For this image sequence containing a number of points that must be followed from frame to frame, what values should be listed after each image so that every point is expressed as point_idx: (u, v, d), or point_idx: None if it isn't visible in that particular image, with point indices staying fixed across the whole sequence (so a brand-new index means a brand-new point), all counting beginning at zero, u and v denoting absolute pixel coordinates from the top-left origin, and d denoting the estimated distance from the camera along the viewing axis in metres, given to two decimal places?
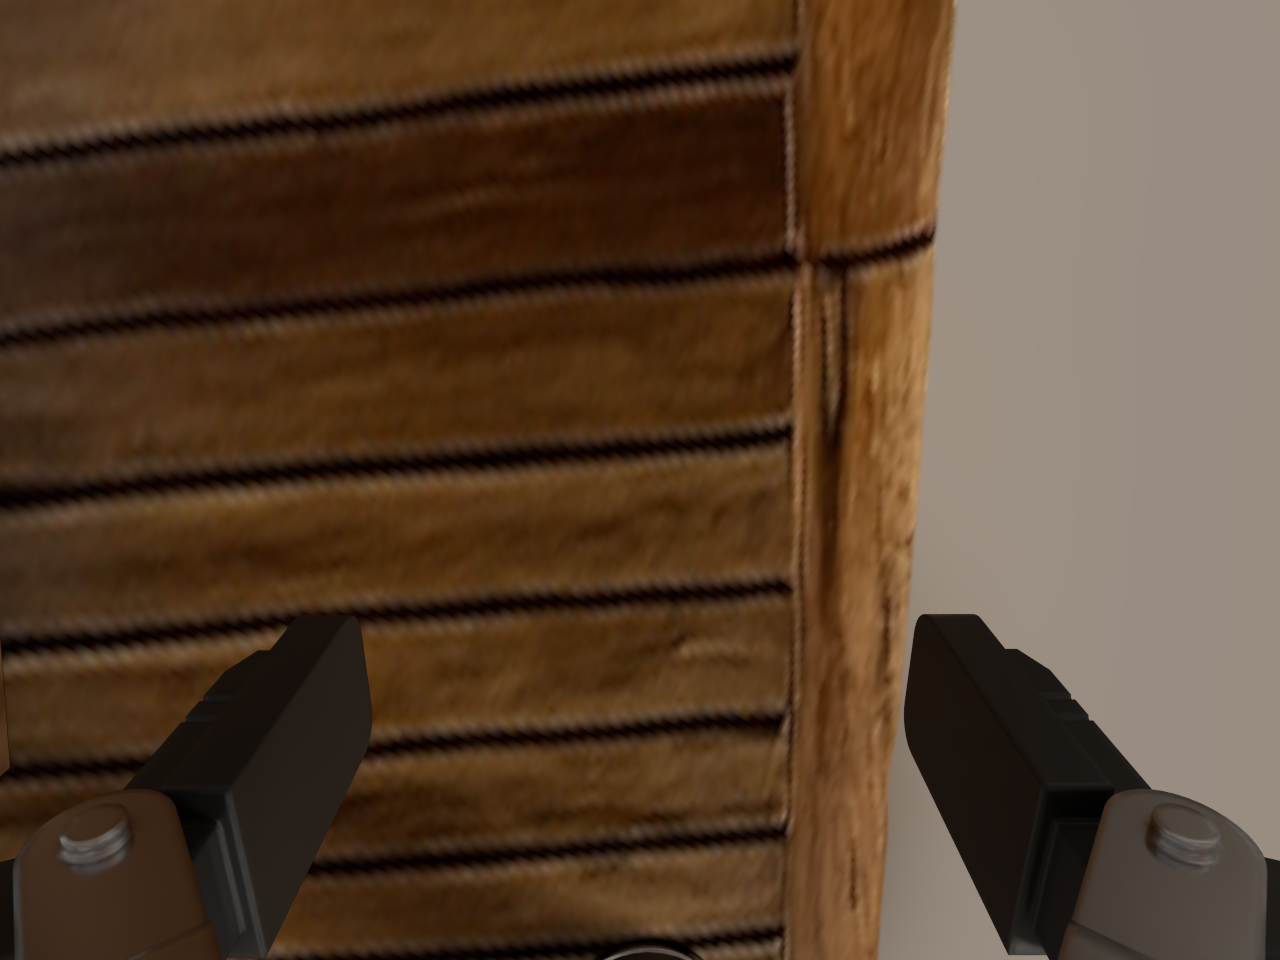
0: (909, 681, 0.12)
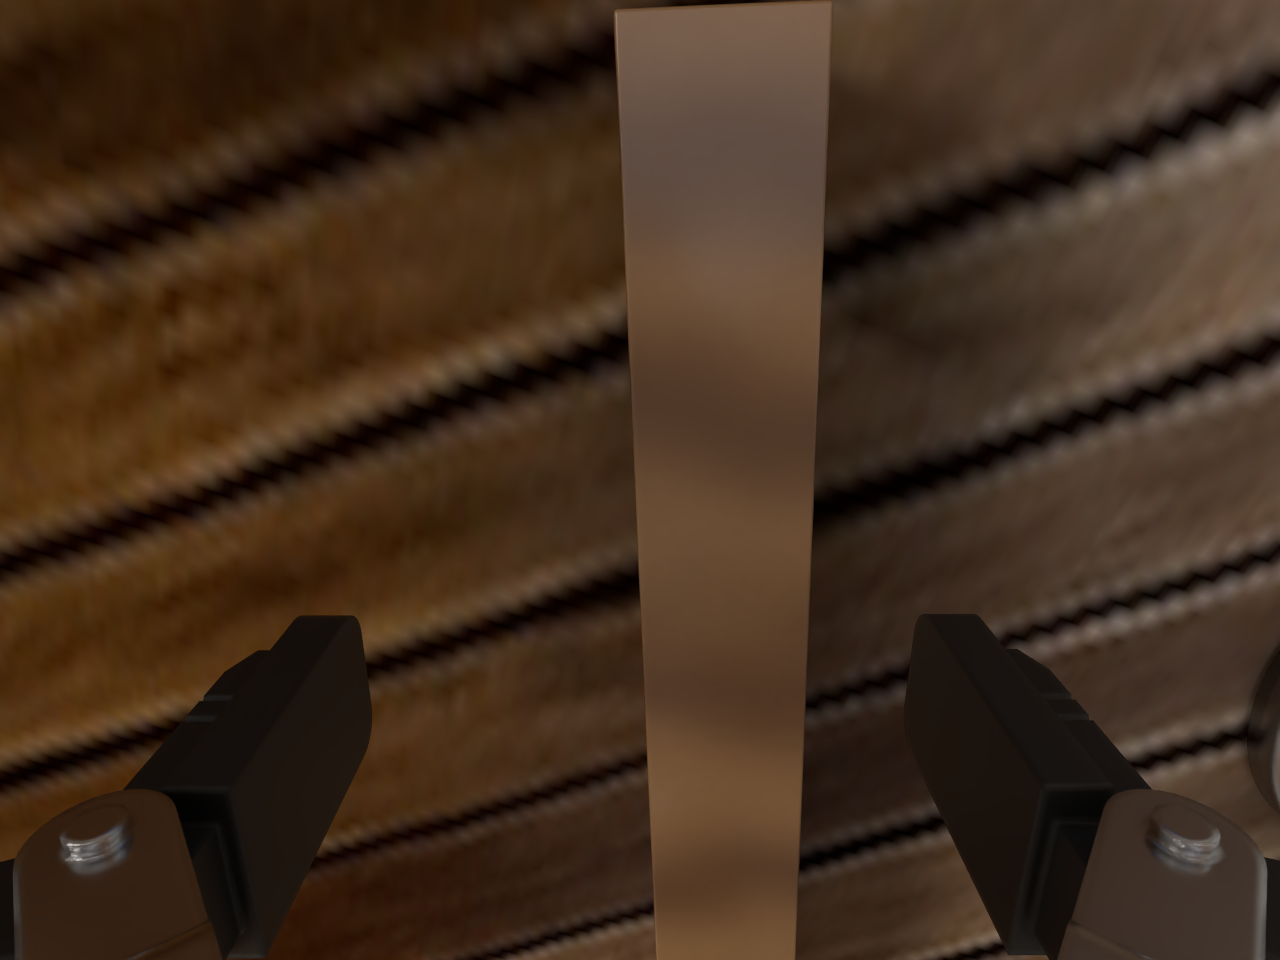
0: (909, 681, 0.12)
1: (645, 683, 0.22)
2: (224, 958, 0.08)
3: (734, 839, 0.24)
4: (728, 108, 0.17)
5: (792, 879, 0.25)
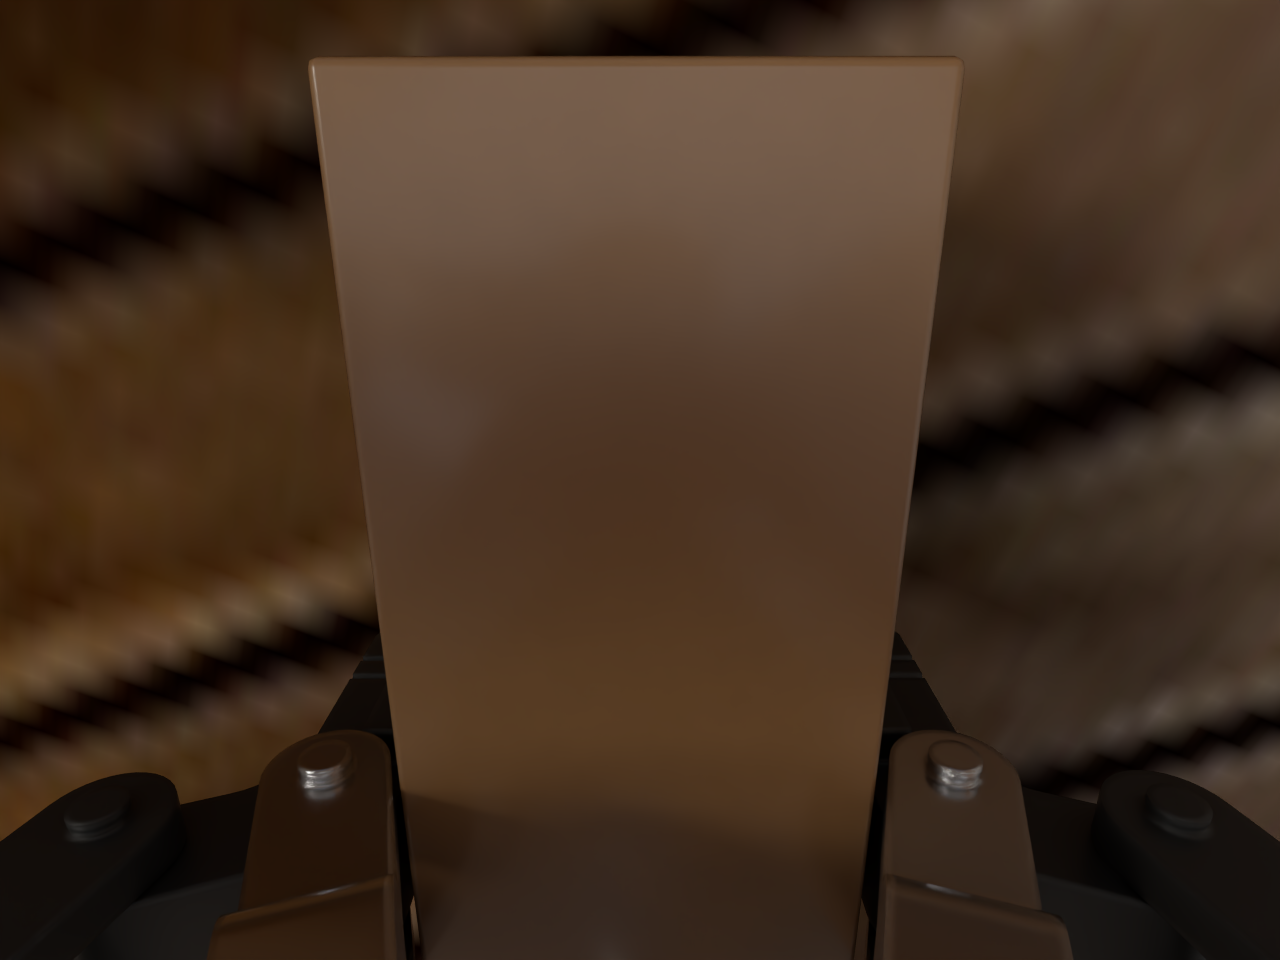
0: None
1: None
2: None
3: None
4: (647, 342, 0.06)
5: None
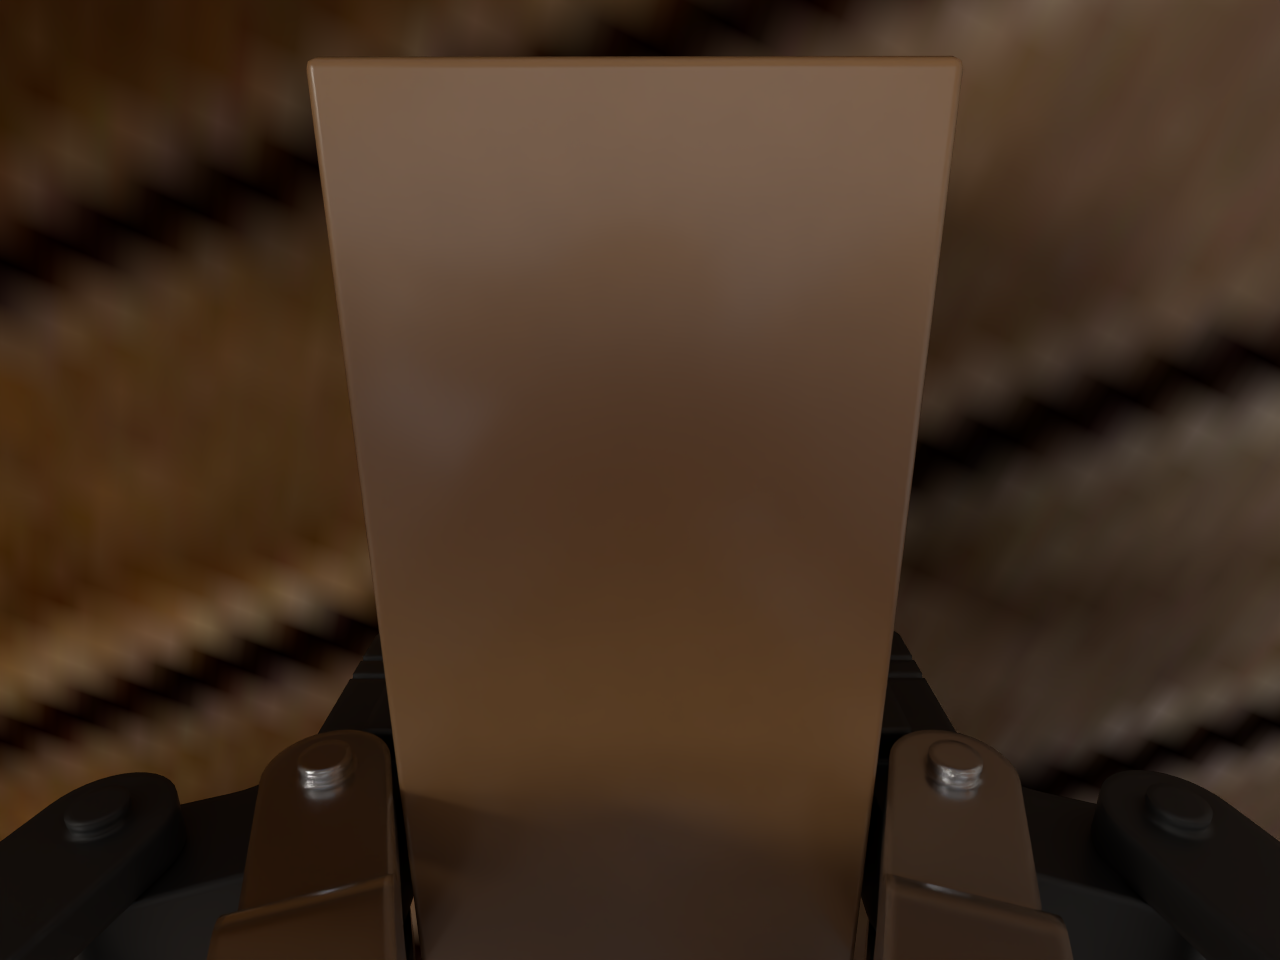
0: None
1: None
2: None
3: None
4: (646, 342, 0.06)
5: None
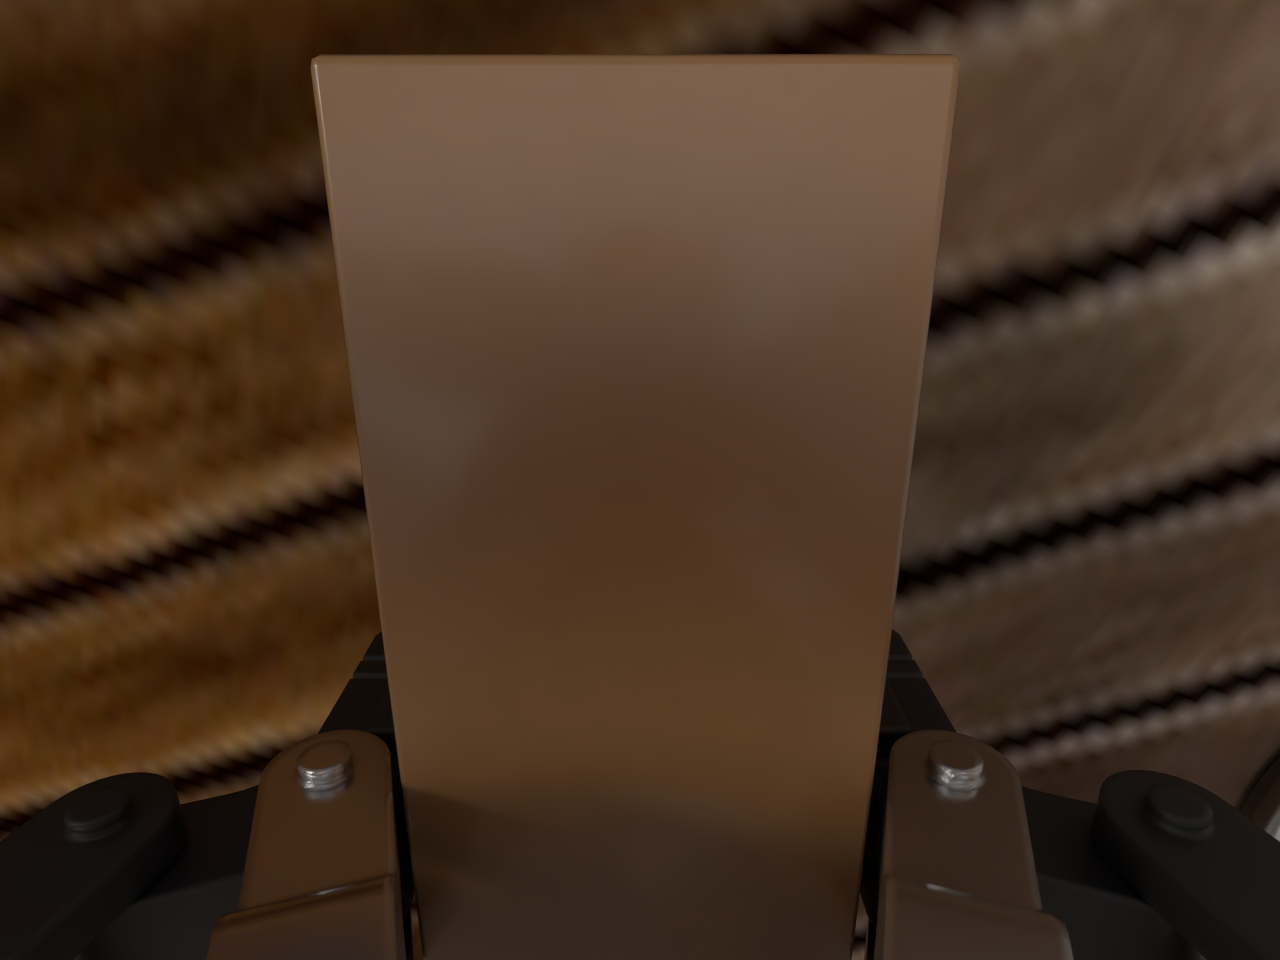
0: None
1: None
2: None
3: None
4: (647, 338, 0.06)
5: None
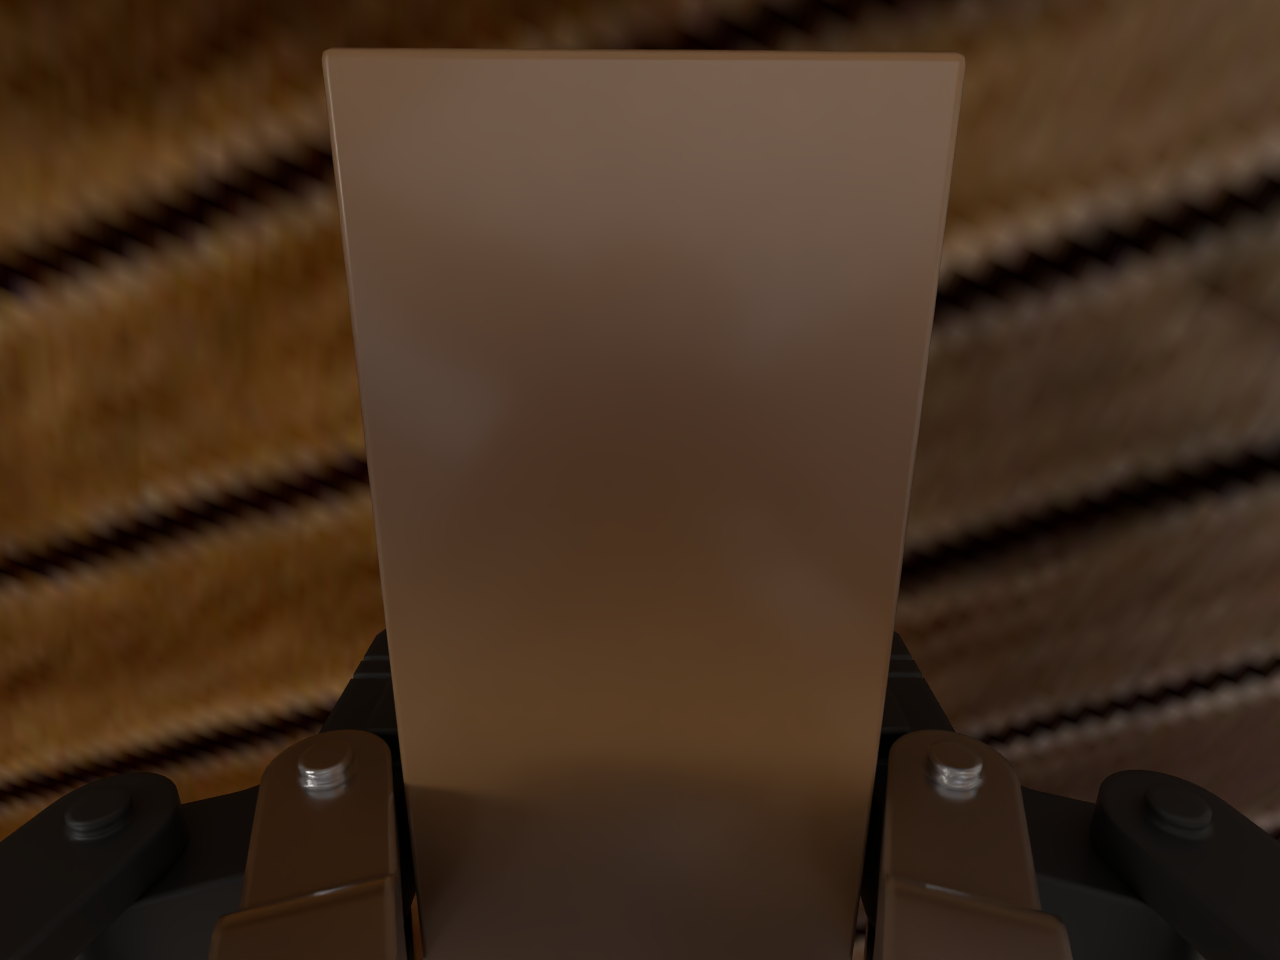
0: None
1: None
2: None
3: None
4: (652, 331, 0.06)
5: None
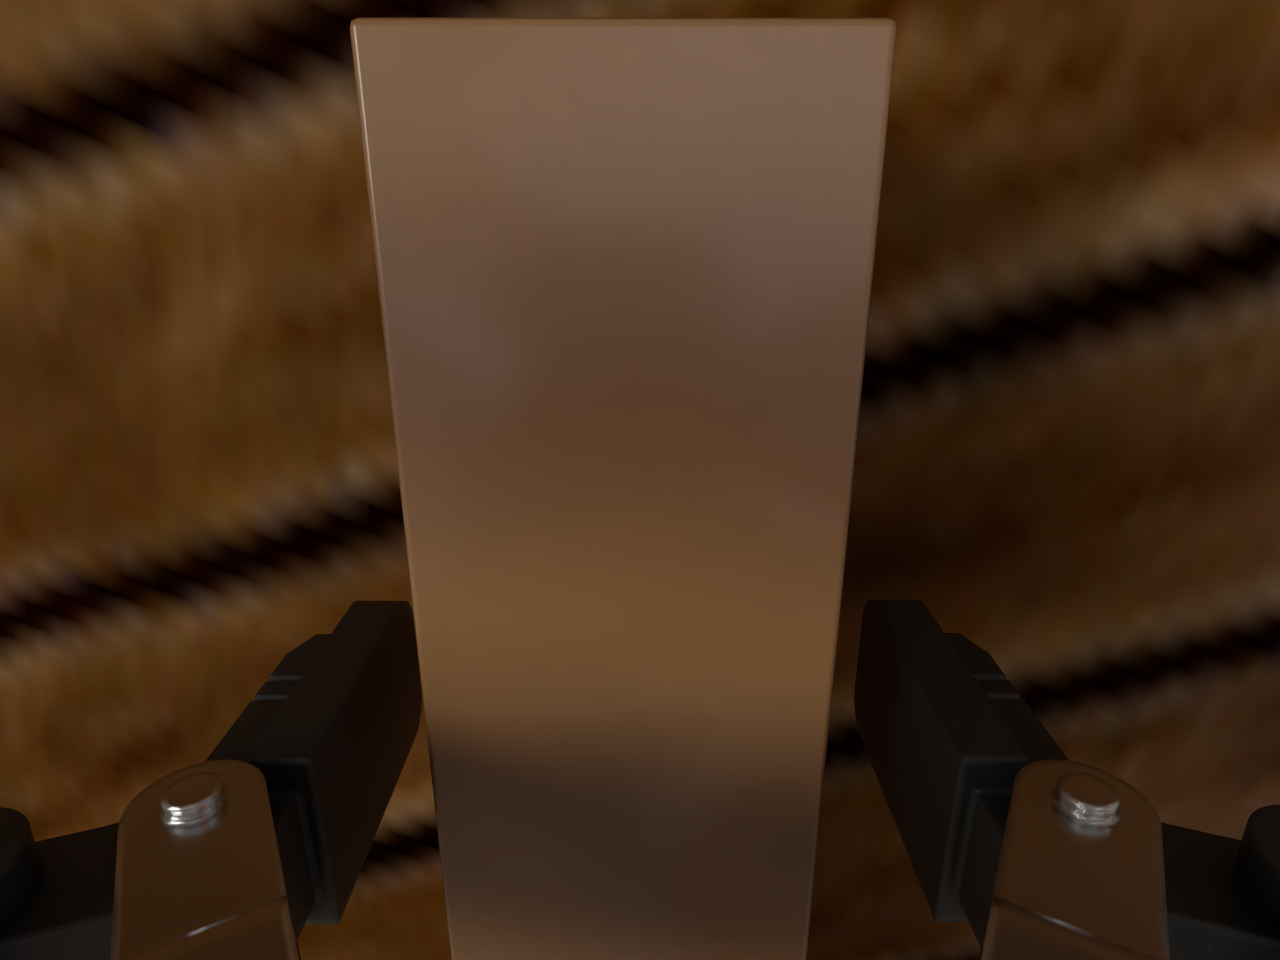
0: (858, 666, 0.12)
1: None
2: (303, 922, 0.08)
3: None
4: (633, 262, 0.07)
5: None
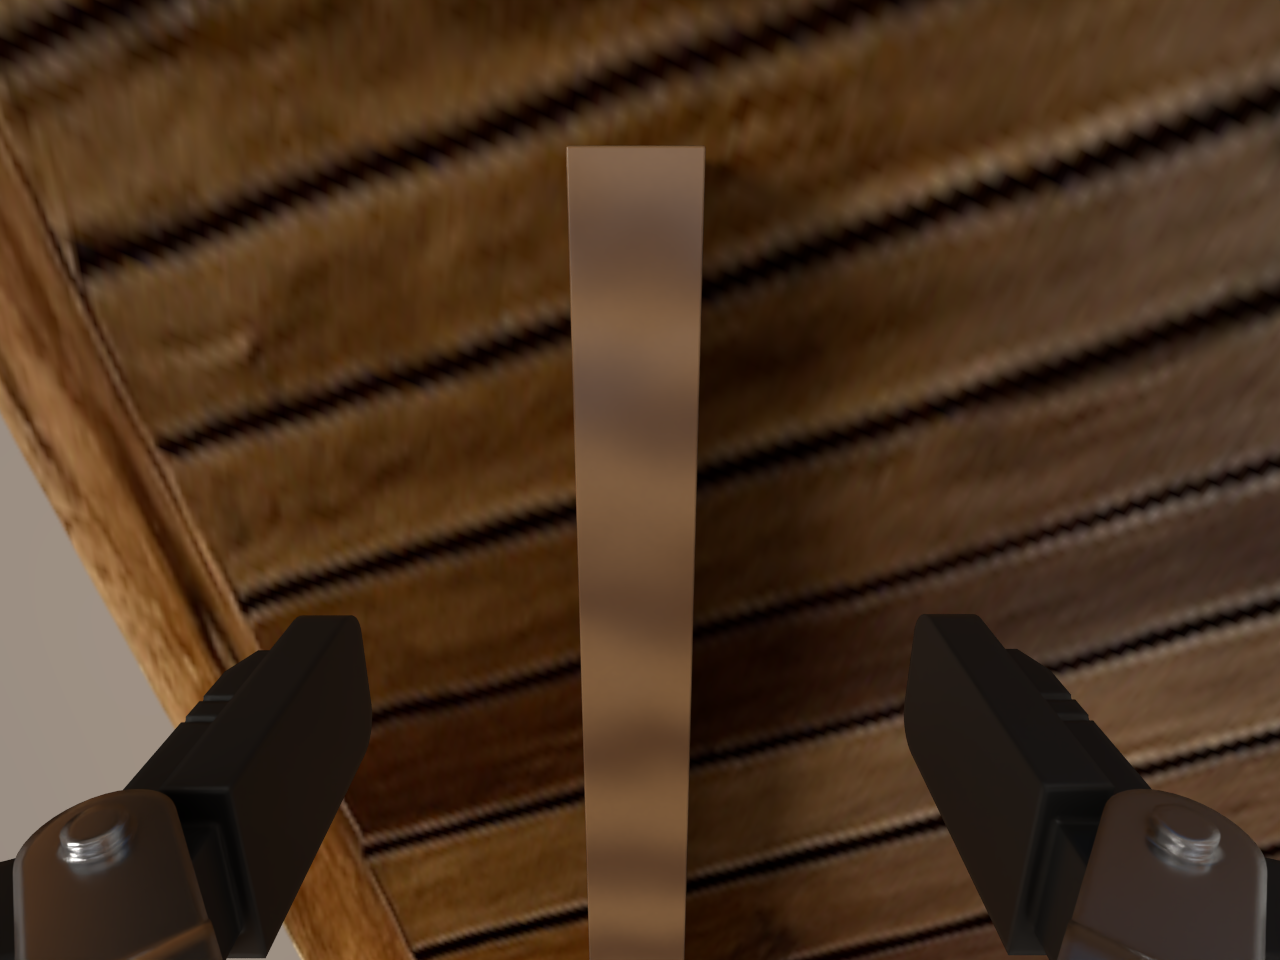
0: (909, 681, 0.12)
1: (579, 596, 0.31)
2: (224, 958, 0.08)
3: (642, 717, 0.33)
4: (638, 209, 0.26)
5: (685, 750, 0.34)
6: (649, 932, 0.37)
